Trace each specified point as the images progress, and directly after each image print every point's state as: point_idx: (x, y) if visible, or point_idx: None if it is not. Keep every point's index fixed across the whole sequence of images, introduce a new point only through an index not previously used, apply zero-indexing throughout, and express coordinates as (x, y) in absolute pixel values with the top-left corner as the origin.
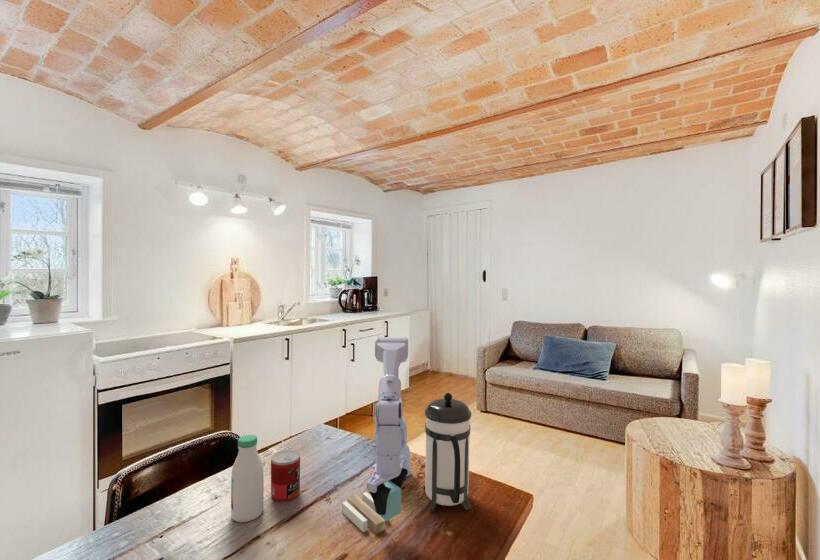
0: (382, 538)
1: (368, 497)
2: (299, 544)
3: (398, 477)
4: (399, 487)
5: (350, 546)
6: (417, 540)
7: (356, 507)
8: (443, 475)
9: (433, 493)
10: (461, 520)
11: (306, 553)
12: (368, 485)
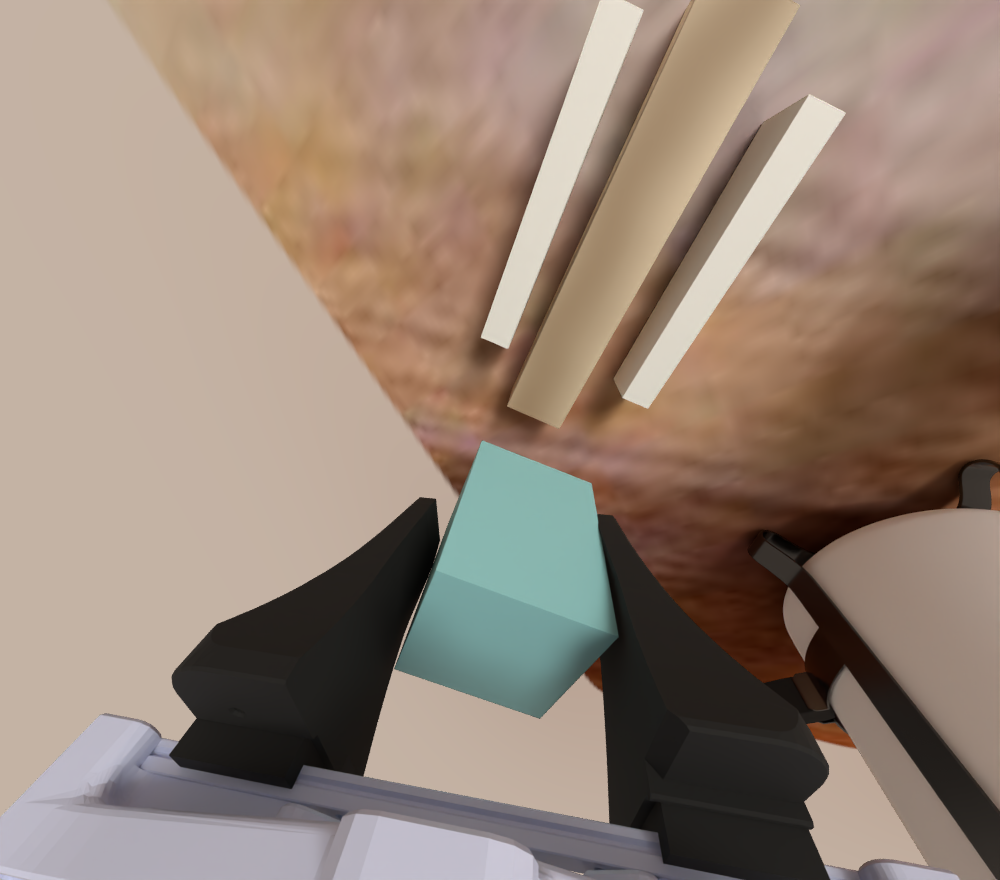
0: (501, 425)
1: (754, 198)
2: (200, 18)
3: (615, 764)
4: (546, 709)
5: (383, 326)
6: None
7: (613, 175)
8: (902, 796)
9: (824, 610)
10: (724, 626)
11: (205, 139)
12: (23, 811)
